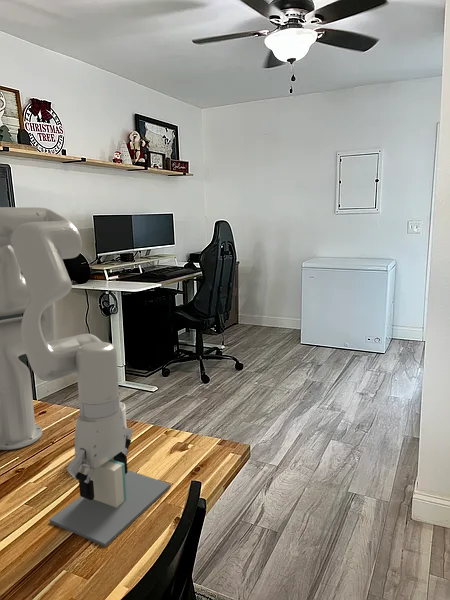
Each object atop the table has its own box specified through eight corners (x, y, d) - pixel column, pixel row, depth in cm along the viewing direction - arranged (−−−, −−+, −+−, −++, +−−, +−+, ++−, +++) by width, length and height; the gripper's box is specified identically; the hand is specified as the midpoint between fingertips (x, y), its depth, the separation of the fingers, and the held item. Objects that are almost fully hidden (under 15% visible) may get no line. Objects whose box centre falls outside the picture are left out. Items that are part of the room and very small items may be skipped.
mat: (49, 522, 87) (49, 519, 87) (120, 469, 104) (119, 467, 104) (105, 546, 80) (105, 543, 80) (170, 486, 97) (170, 484, 97)
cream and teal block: (86, 496, 93) (83, 460, 92) (96, 488, 96) (94, 453, 94) (116, 507, 90) (114, 470, 88) (126, 499, 92) (124, 463, 91)
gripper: (115, 387, 98) (119, 459, 102) (50, 419, 83) (58, 503, 87) (142, 393, 95) (146, 468, 98) (80, 428, 80) (87, 515, 83)
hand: (104, 484), depth 92 cm, fingers open, 9 cm apart
